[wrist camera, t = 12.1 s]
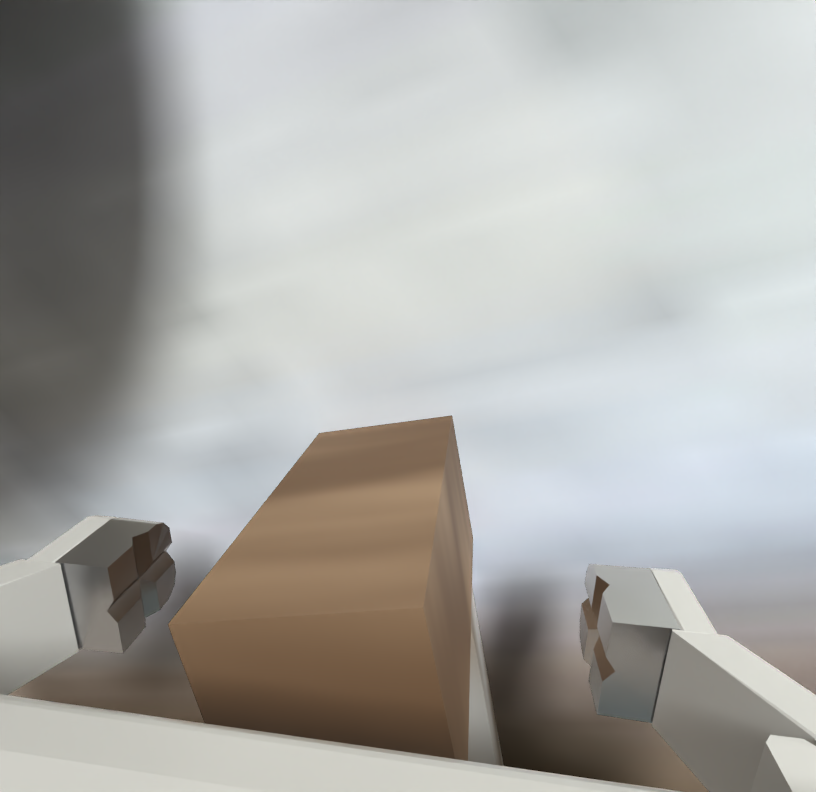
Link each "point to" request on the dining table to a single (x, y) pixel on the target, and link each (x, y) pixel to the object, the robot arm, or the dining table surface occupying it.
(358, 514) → the wood-handled metal tool
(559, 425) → the dining table surface
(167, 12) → the dining table surface
